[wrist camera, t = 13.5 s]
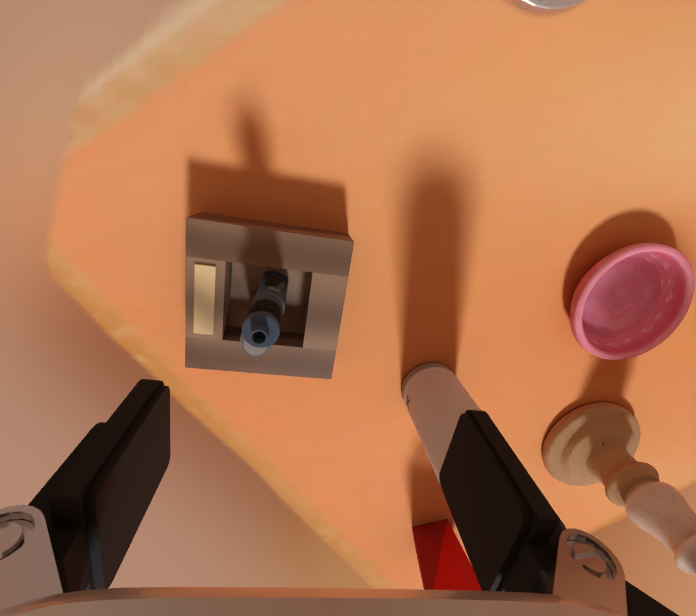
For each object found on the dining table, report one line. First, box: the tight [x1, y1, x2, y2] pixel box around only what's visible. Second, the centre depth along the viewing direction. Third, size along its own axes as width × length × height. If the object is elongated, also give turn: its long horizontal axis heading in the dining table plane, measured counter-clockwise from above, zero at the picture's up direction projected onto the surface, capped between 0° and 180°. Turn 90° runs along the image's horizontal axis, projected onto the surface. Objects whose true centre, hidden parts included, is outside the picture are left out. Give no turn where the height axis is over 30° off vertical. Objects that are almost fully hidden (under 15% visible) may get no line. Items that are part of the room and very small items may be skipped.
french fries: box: [412, 519, 482, 591], centre depth 41 cm, size 9×8×15 cm
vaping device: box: [240, 271, 289, 357], centre depth 27 cm, size 3×5×12 cm, turn 158°
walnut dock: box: [185, 213, 354, 379], centre depth 32 cm, size 13×13×4 cm
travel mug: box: [401, 363, 566, 530], centre depth 30 cm, size 6×7×20 cm
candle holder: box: [542, 402, 696, 575], centre depth 36 cm, size 12×12×20 cm
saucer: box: [570, 243, 694, 360], centre depth 37 cm, size 12×12×3 cm
